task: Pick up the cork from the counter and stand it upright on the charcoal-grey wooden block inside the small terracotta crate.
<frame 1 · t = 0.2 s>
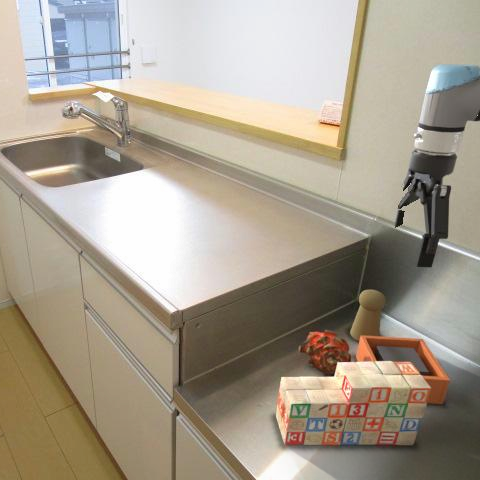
hand: (410, 251, 95), 20 cm above the worktop, tool pointing down, fingers open, 13 cm apart
stack of blocks: (342, 431, 77), on the worktop
dragon fruit: (322, 366, 92), on the worktop
grey block: (396, 376, 88), resting on crate
crate: (396, 379, 88), on the worktop
cork: (364, 336, 101), on the worktop
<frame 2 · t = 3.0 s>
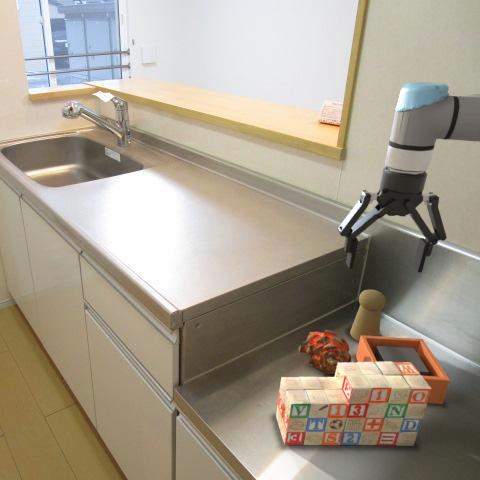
hand: (382, 267, 94), 17 cm above the worktop, tool pointing down, fingers open, 13 cm apart
nothing on the worktop moved.
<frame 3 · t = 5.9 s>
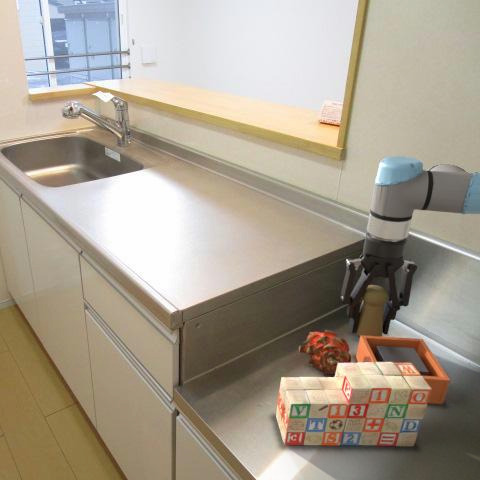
hand: (367, 329, 100), 2 cm above the worktop, tool pointing down, fingers closed on cork, 6 cm apart
cork: (367, 331, 100), point 1 cm above the worktop, touching gripper
everything else where it was.
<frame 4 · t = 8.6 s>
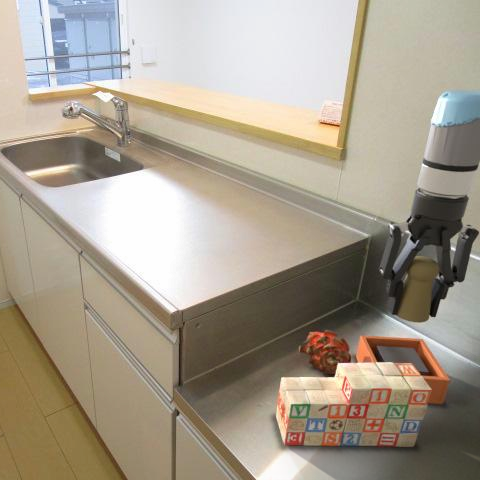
hand: (410, 311, 82), 15 cm above the worktop, tool pointing down, fingers closed on cork, 6 cm apart
cork: (410, 314, 83), point 15 cm above the worktop, touching gripper
everything else where it was.
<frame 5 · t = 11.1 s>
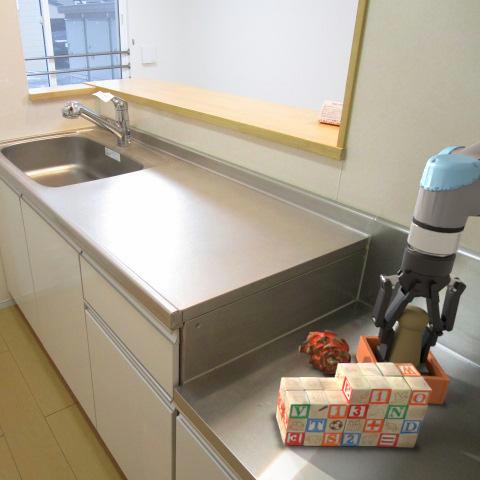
hand: (402, 357, 86), 5 cm above the worktop, tool pointing down, fingers closed on cork, 6 cm apart
cork: (401, 359, 86), point 5 cm above the worktop, touching grey block, gripper
everything else where it was.
when the fingers open (6 cm above the worktop, at t = 11.7 s): cork stays where it is, resting on grey block.
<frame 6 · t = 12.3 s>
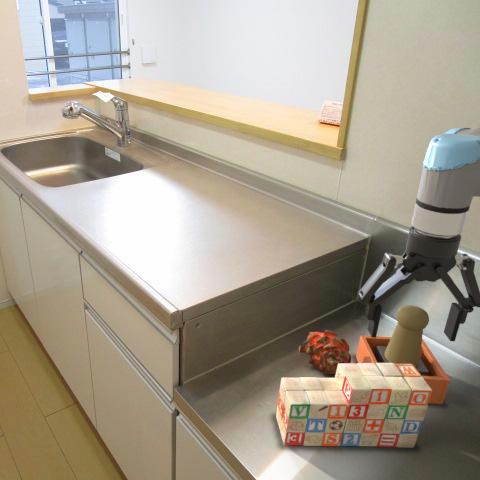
hand: (409, 335, 84), 10 cm above the worktop, tool pointing down, fingers open, 13 cm apart
cork: (401, 359, 86), point 5 cm above the worktop, touching grey block
everything else where it was.
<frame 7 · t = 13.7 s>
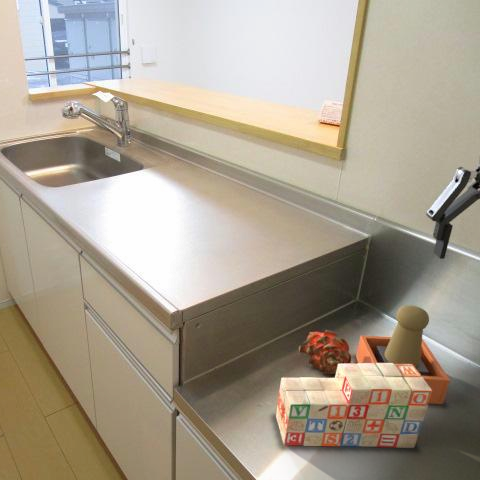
hand: (478, 256, 82), 24 cm above the worktop, tool pointing down, fingers open, 13 cm apart
nothing on the worktop moved.
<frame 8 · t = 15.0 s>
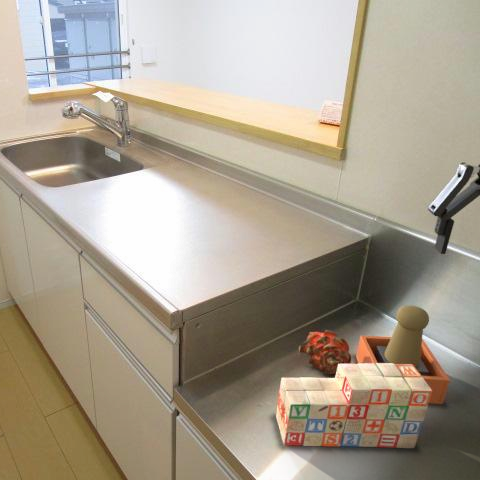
hand: (479, 252, 83), 25 cm above the worktop, tool pointing down, fingers open, 13 cm apart
nothing on the worktop moved.
at the end: cork 0.0 cm off-centre in the crate, point 4.9 cm above the crate's base; cork tilted 0°; the gripper is holding nothing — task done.
